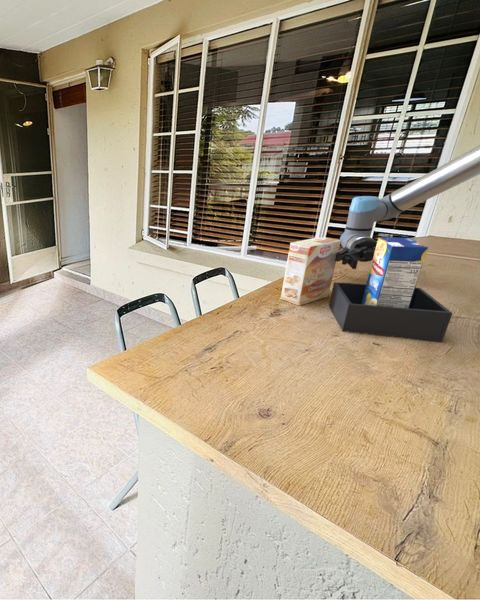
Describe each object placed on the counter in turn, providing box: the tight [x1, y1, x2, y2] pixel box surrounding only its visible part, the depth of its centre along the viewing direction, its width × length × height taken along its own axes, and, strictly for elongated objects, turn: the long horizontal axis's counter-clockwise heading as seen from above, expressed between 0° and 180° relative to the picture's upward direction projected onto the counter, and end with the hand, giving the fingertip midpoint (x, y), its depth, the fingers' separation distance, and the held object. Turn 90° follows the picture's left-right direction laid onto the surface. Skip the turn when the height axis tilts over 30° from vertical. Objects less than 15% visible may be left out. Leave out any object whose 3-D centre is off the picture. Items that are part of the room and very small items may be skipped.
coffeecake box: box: [280, 236, 341, 306], centre depth 114 cm, size 15×7×20 cm, turn 114°
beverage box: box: [361, 236, 429, 308], centre depth 94 cm, size 7×11×22 cm, turn 156°
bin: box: [328, 281, 453, 343], centre depth 97 cm, size 21×19×8 cm
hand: (384, 266), depth 99 cm, fingers open, 13 cm apart
